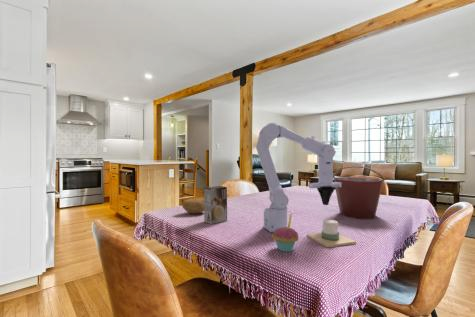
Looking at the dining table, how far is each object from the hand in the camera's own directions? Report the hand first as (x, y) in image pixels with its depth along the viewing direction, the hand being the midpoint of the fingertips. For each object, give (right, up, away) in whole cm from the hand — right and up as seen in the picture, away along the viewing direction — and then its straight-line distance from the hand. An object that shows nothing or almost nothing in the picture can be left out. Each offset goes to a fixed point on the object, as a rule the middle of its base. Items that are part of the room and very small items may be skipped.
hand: (325, 204), depth 105 cm
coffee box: (-48, -10, +11) cm, 50 cm away
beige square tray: (-3, -10, -15) cm, 18 cm away
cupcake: (-22, -11, -23) cm, 33 cm away
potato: (-60, -10, +26) cm, 66 cm away
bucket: (+25, -10, +23) cm, 35 cm away
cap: (-3, -7, -15) cm, 17 cm away
